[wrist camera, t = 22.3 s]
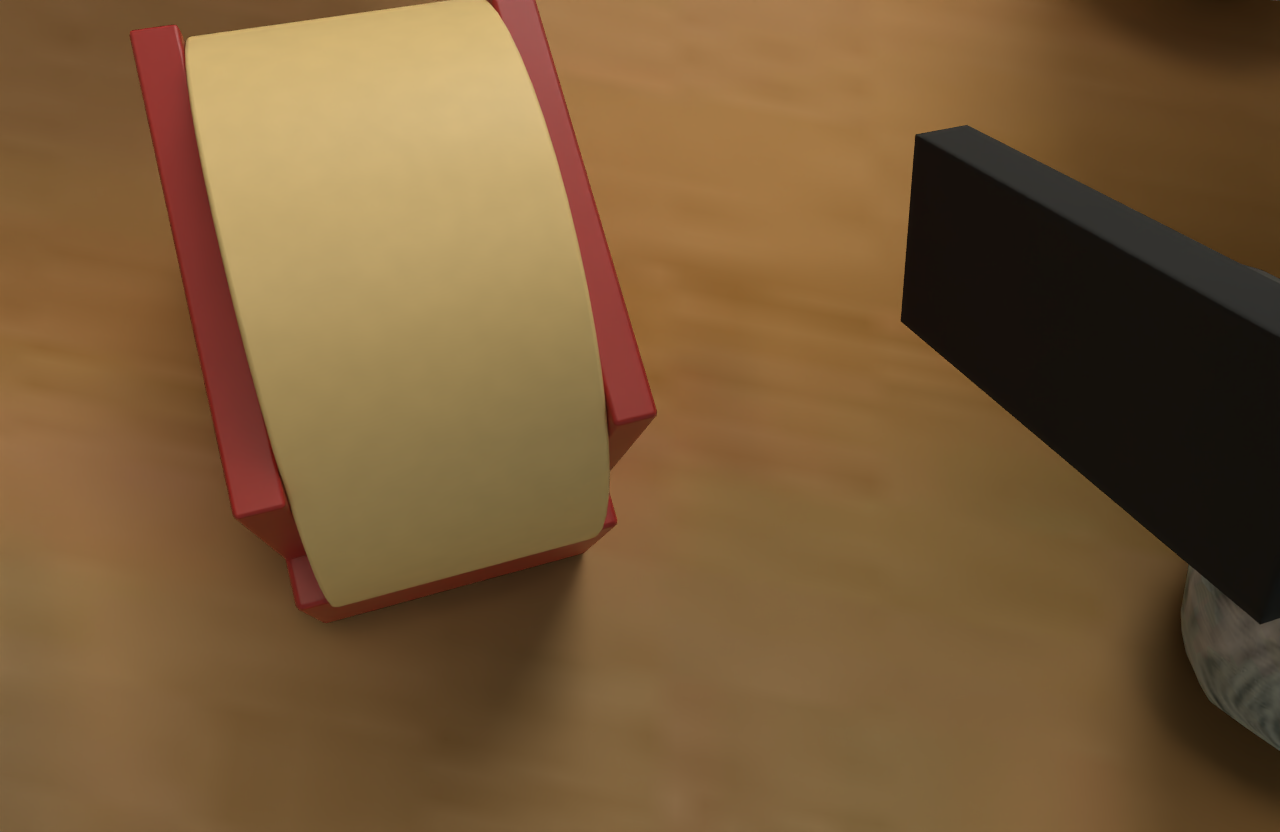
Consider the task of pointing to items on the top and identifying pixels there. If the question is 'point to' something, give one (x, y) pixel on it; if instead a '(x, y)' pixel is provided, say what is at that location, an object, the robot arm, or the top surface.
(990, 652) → the top surface
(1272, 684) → the spool
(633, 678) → the top surface
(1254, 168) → the top surface
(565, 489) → the tape dispenser
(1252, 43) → the top surface
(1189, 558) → the robot arm
